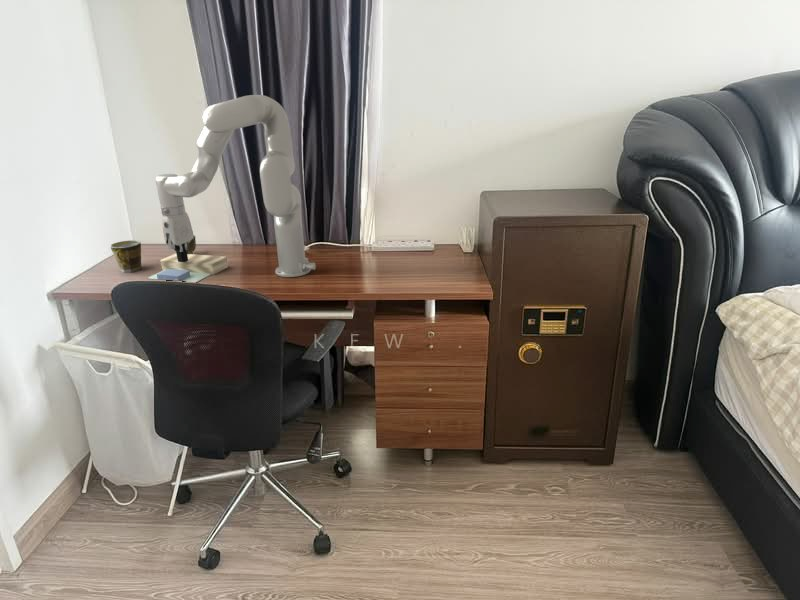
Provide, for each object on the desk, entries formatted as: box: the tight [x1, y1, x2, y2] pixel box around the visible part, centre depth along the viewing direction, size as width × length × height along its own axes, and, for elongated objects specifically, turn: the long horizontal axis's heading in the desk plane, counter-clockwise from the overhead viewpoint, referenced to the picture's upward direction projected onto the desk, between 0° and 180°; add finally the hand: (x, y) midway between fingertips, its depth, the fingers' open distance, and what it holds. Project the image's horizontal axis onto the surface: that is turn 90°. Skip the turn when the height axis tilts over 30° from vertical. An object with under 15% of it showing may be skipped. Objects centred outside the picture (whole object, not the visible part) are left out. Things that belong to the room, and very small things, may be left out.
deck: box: [160, 253, 229, 276], centre depth 193 cm, size 22×9×4 cm, turn 74°
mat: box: [146, 270, 211, 283], centre depth 185 cm, size 20×9×1 cm, turn 74°
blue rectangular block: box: [156, 269, 190, 282], centre depth 183 cm, size 9×6×2 cm, turn 73°
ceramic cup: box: [109, 239, 142, 273], centre depth 191 cm, size 13×10×10 cm
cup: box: [186, 234, 197, 254], centre depth 207 cm, size 8×7×8 cm
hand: (183, 261), depth 187 cm, fingers closed
